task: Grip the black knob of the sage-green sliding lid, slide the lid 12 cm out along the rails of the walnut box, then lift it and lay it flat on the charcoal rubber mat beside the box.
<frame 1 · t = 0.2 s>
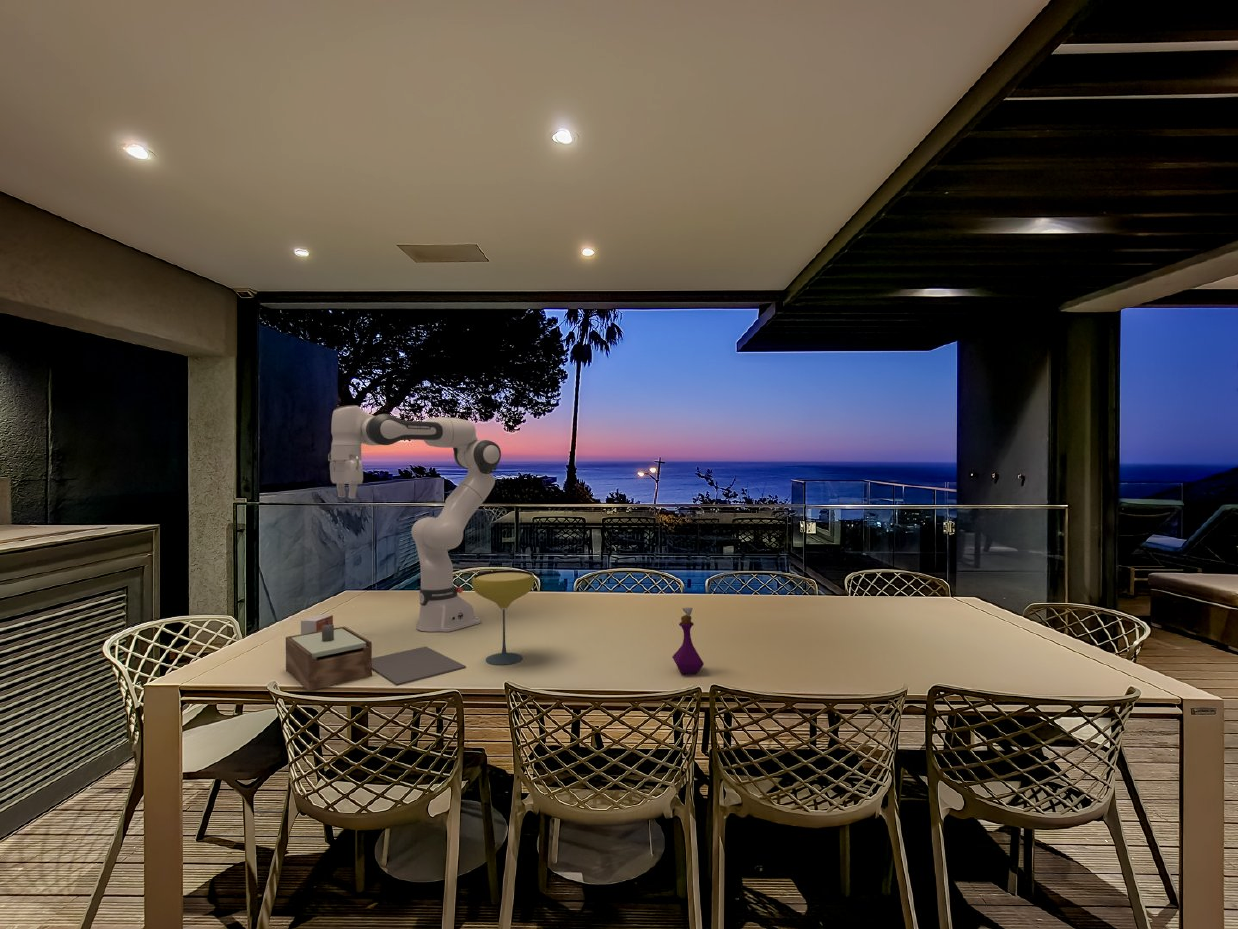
hand: (346, 497, 194), 48 cm above the table, fingers open, 8 cm apart
lid: (328, 644, 168), point 8 cm above the table, touching walnut box
perfume bottle: (687, 672, 166), on the table
small box: (317, 651, 188), on the table
cocktail glass: (504, 660, 179), on the table
mat: (412, 665, 174), on the table
walnut box: (328, 673, 168), on the table
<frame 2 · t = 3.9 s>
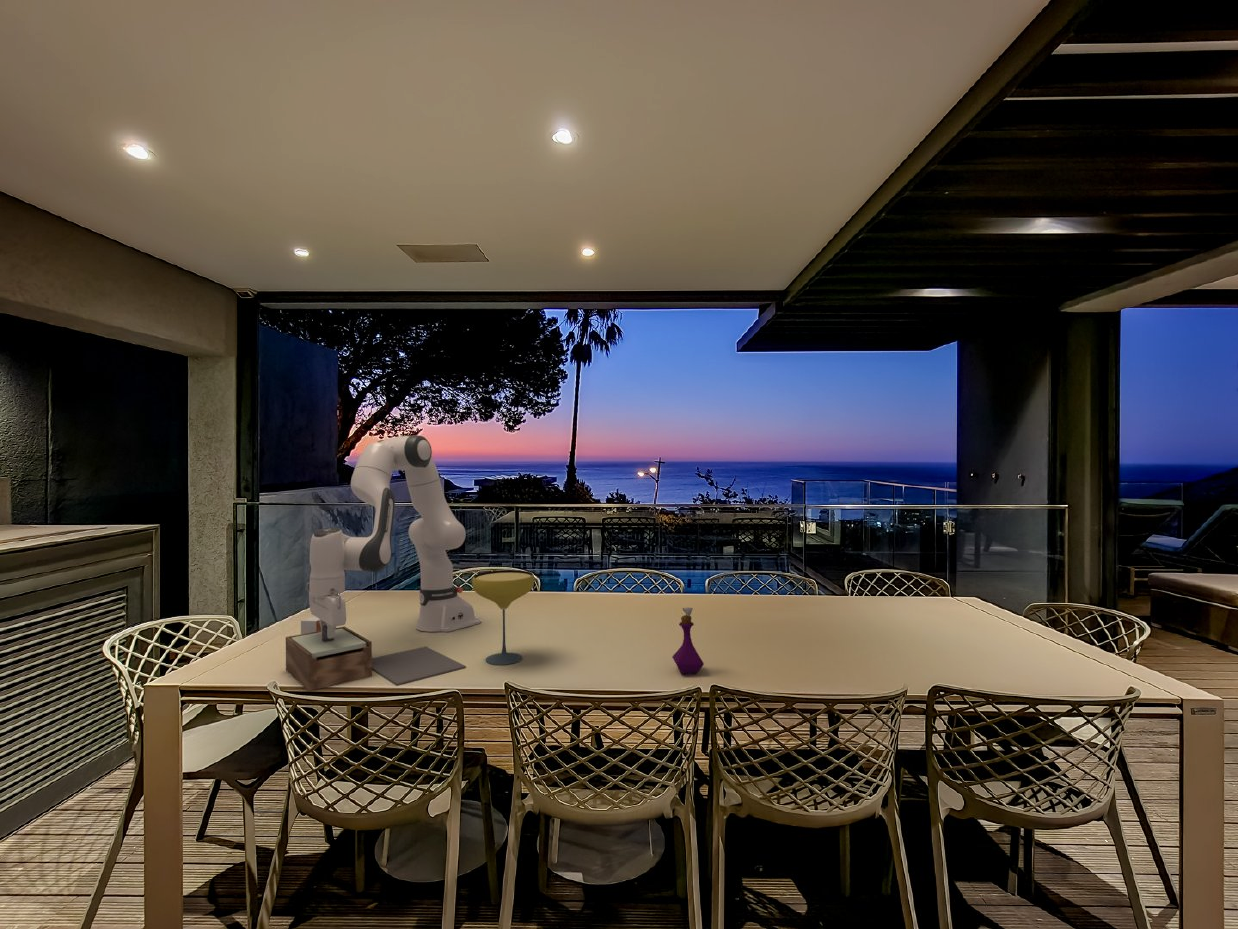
hand: (328, 636, 168), 10 cm above the table, fingers closed on lid, 3 cm apart
lid: (328, 644, 168), point 8 cm above the table, touching gripper, walnut box
everything else where it was.
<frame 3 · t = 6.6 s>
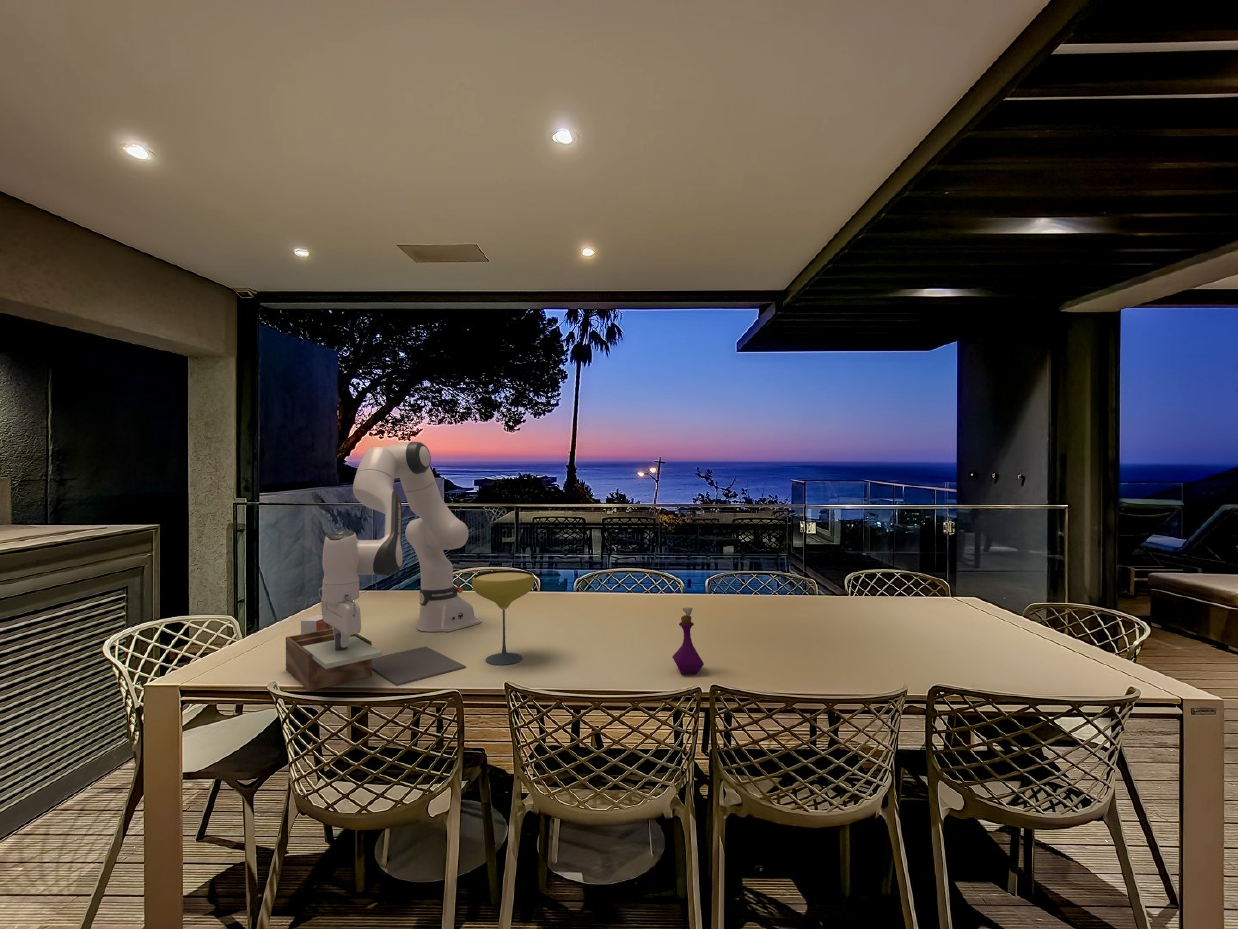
hand: (341, 644, 159), 10 cm above the table, fingers closed on lid, 3 cm apart
lid: (341, 653, 159), point 8 cm above the table, touching gripper
everything else where it was.
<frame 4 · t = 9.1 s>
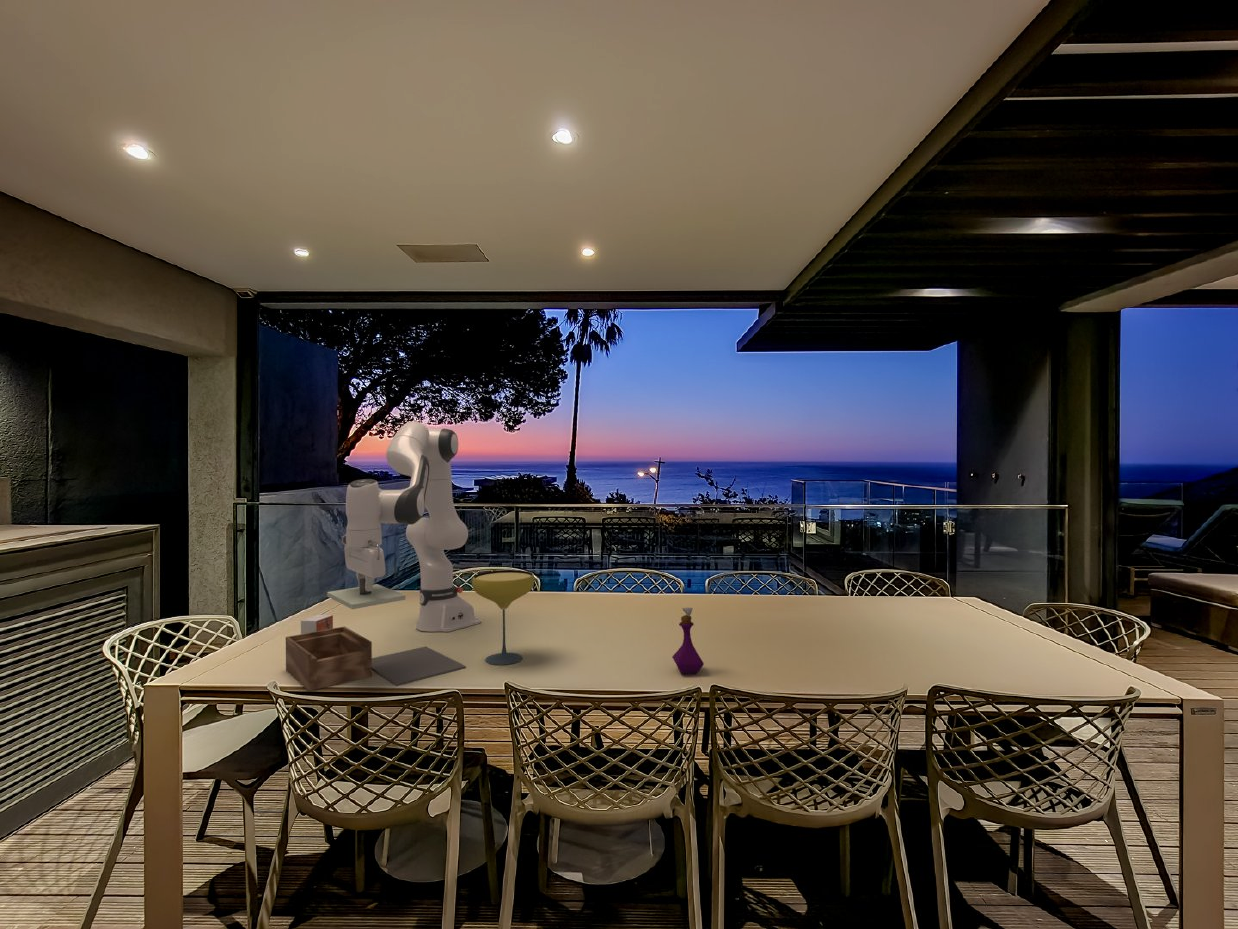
hand: (365, 589, 164), 24 cm above the table, fingers closed on lid, 3 cm apart
lid: (365, 598, 164), point 22 cm above the table, touching gripper
everything else where it was.
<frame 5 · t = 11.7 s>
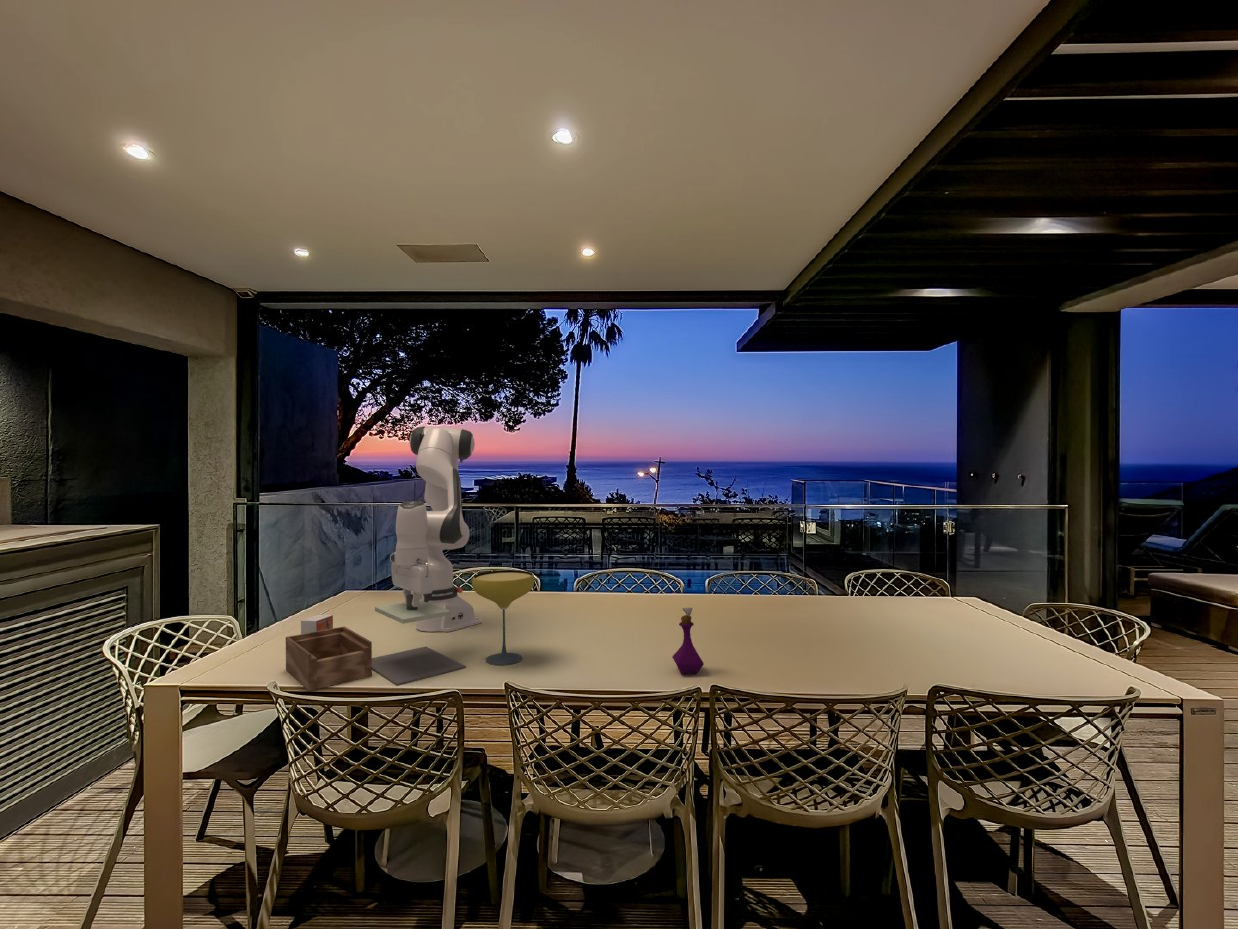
hand: (412, 605, 174), 17 cm above the table, fingers closed on lid, 3 cm apart
lid: (412, 613, 174), point 15 cm above the table, touching gripper
everything else where it was.
when the fingers open (4 cm above the table, at t = 14.3 s): lid drops 1 cm, resting on mat.
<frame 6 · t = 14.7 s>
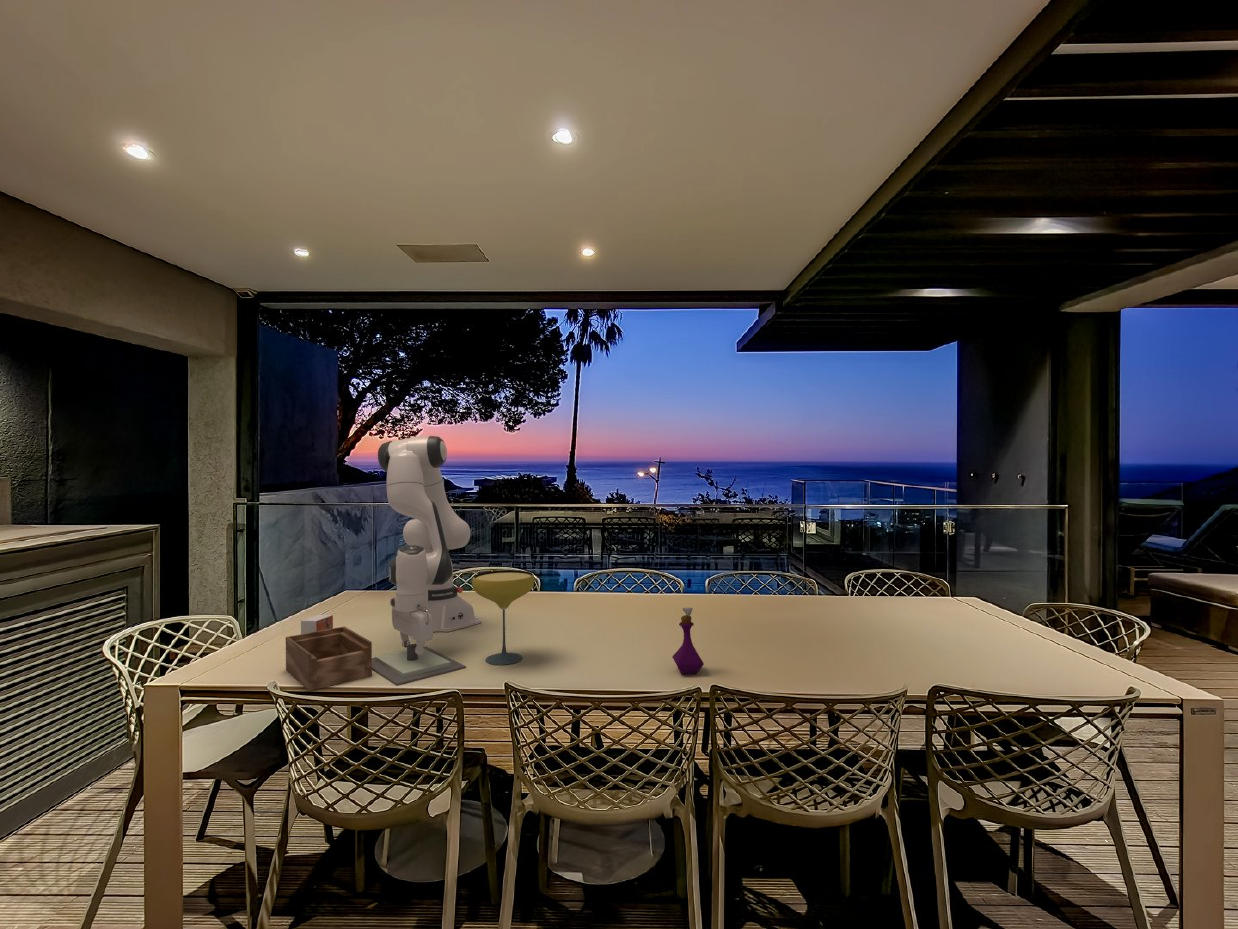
hand: (412, 650, 174), 4 cm above the table, fingers open, 8 cm apart
lid: (412, 663, 174), resting on mat
everything else where it was.
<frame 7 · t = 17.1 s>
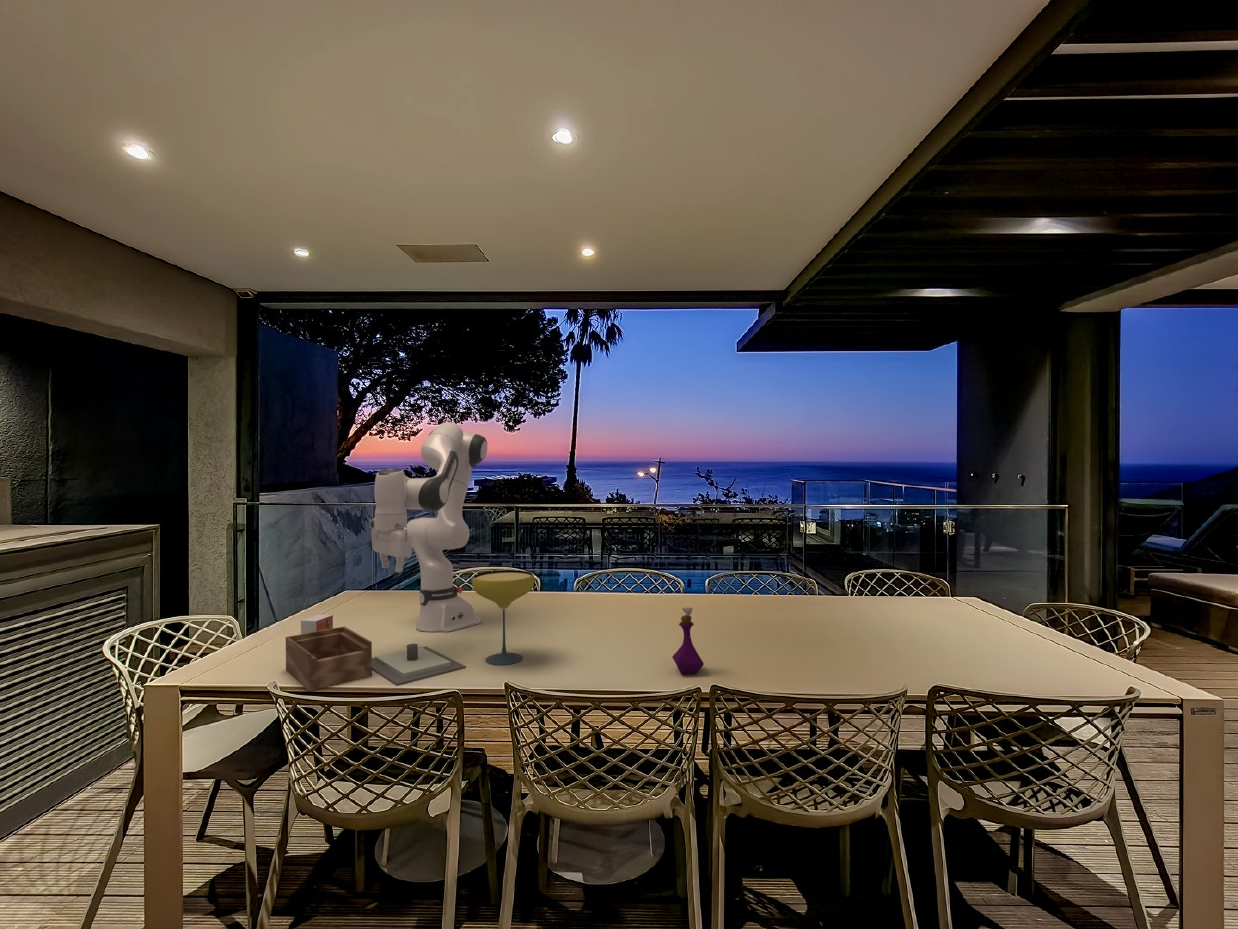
hand: (392, 569, 177), 27 cm above the table, fingers open, 8 cm apart
nothing on the table moved.
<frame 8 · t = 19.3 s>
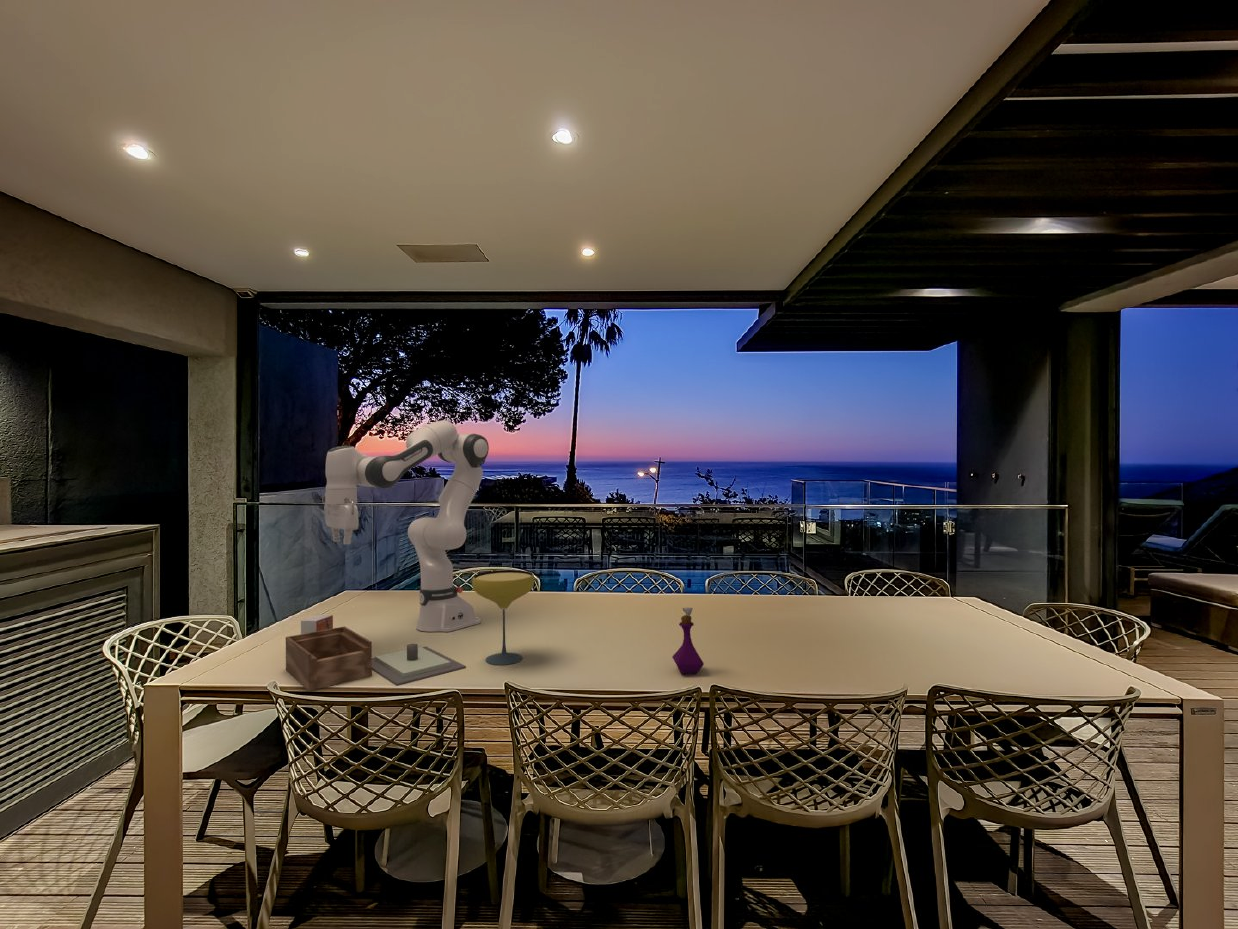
hand: (341, 542, 186), 34 cm above the table, fingers open, 8 cm apart
nothing on the table moved.
at the end: lid inside the target area (0.1 cm from its centre), point 0.5 cm above the table; lid tilted 0°; the gripper is holding nothing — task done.
